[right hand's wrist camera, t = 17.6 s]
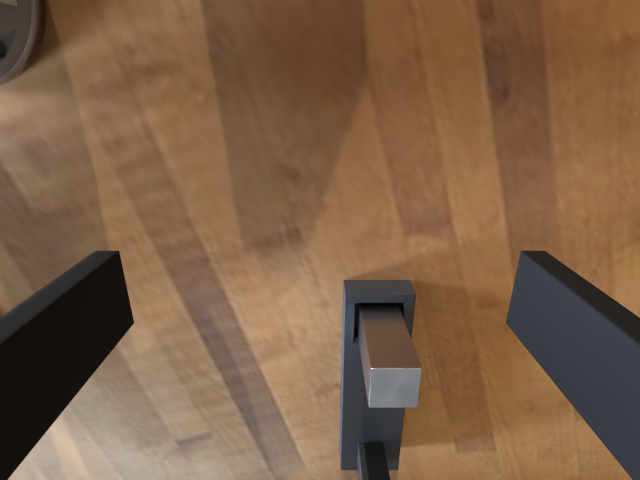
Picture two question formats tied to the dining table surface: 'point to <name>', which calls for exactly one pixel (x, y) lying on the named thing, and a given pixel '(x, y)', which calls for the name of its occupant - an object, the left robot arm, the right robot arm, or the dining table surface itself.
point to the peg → (387, 356)
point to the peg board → (355, 415)
